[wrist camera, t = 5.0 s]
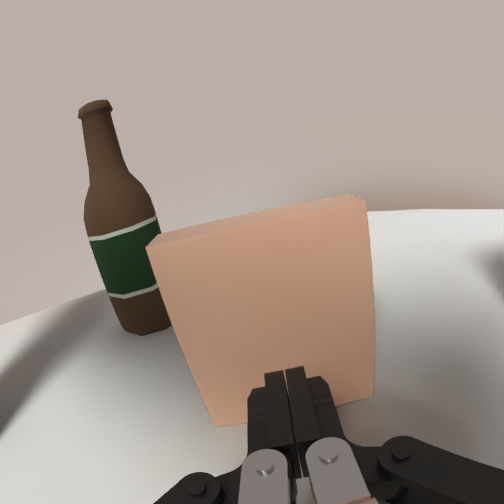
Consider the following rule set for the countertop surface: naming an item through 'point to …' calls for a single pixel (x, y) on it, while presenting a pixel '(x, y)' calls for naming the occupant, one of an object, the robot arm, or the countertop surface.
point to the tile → (272, 300)
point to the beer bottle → (120, 226)
